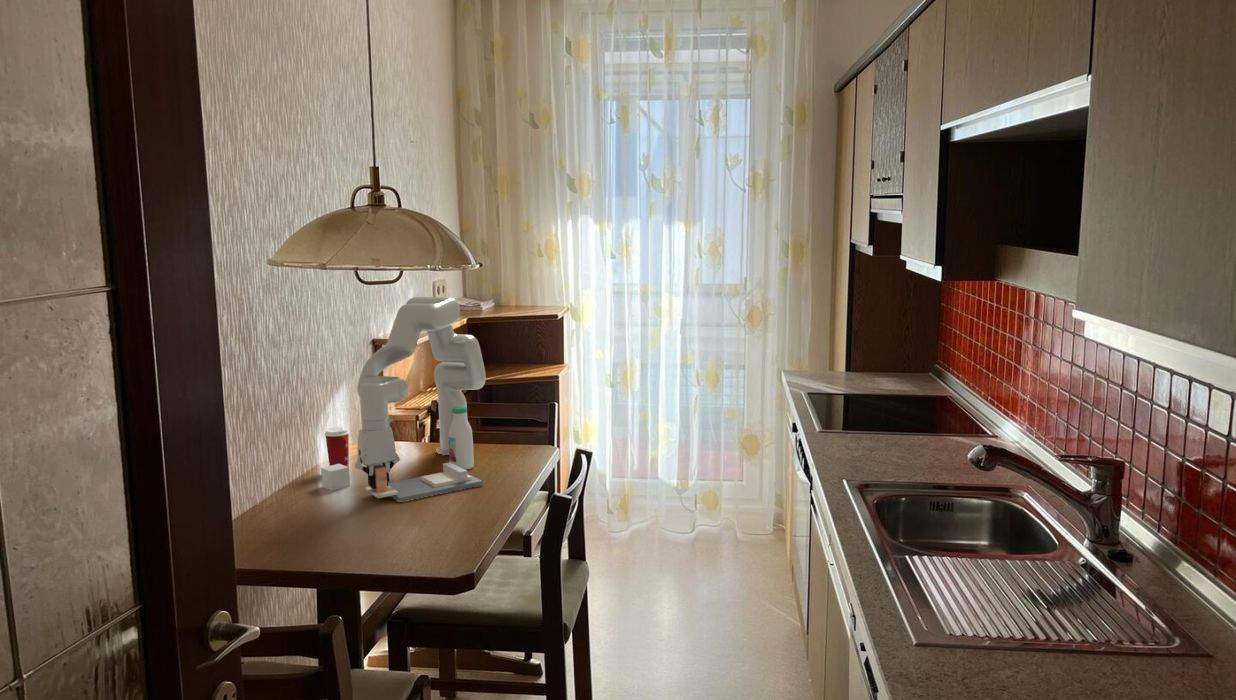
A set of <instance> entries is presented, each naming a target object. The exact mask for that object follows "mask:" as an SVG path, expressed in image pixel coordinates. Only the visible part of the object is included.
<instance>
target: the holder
mask: <svg viewBox="0 0 1236 700" xmlns="http://www.w3.org/2000/svg"><path fill="white" fill-rule="evenodd" d="M442 471H443V472H437V473H432V474H428V475H426V474H425V475H423V476H422V475H421V476H418V477H413V478H409V479H404V480H398V481H393V482H388V486H390V487H392V488H393V489H395V490H397V491H398V494H397V495H392V496H391V498H392V497H393V498H395V499H396V500H398V501H400V502H401V501H406V500H411V499H416V498H421V497H425V496H431V495H436V494H440V493H445V494H447V493H446V492H450V491H455V490H460V489H464V490H466V489H465V488H469V489H473V488H472V487H474V488H477V487H482V486H483V481H482V480H481V479H479V478H478V477H476V476H473V475H471V474H469V473H468V469H467V470H465V469H463V468H461V467H458V466H456V465H454V464H452V463H450V461H449V462H445V463H442ZM470 487H471V488H470ZM460 491H461V490H460ZM455 492H456V491H455ZM450 493H451V492H450ZM436 496H437V495H436ZM431 497H432V496H431ZM393 498H392V499H393ZM395 499H394V500H395ZM396 500H395V501H396ZM398 501H397V502H398Z"/></svg>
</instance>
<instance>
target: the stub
mask: <svg viewBox="0 0 1236 700" xmlns="http://www.w3.org/2000/svg"><path fill="white" fill-rule="evenodd" d="M373 473H374V475H375V480H376V488H375V489H373V488H371V487H370V486H366V487H365V491H367V492H368V493H369V494H371V495H373V496H374V497H375V498H377V499H383V498H387V497H390V496H392V495H397V494H398V491H397V490H395V489H393V488H392V487H390V486H387V472H386V467H385V466H383V465H382V463H380V464H375V465H374V469H373Z"/></svg>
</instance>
